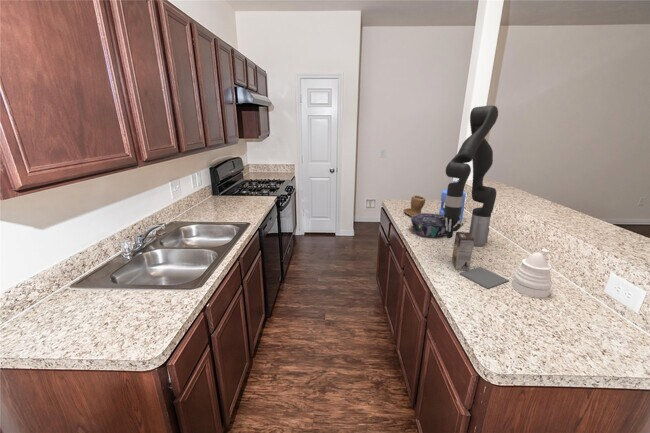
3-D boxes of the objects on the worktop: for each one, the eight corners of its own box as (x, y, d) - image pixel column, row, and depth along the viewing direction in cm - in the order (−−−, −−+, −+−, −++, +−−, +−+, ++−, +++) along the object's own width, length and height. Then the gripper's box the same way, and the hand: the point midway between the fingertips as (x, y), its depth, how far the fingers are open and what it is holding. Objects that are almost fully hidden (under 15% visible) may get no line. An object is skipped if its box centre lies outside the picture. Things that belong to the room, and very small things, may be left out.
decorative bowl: (460, 235, 180) (462, 220, 177) (436, 243, 163) (439, 226, 160) (424, 224, 199) (426, 211, 196) (400, 230, 182) (402, 215, 180)
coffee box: (451, 261, 142) (455, 231, 137) (464, 262, 141) (469, 232, 136) (455, 269, 133) (460, 238, 128) (469, 271, 132) (475, 239, 127)
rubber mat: (480, 267, 135) (480, 266, 135) (509, 281, 123) (509, 280, 123) (459, 274, 130) (459, 272, 129) (487, 289, 117) (487, 288, 117)
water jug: (463, 219, 203) (469, 180, 195) (460, 225, 191) (466, 184, 182) (440, 215, 211) (445, 178, 203) (436, 221, 199) (440, 182, 190)
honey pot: (542, 283, 121) (552, 245, 116) (554, 300, 110) (566, 259, 104) (508, 278, 125) (516, 241, 120) (516, 294, 114) (525, 254, 108)
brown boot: (426, 217, 207) (428, 197, 203) (411, 218, 205) (413, 198, 201) (416, 211, 222) (418, 193, 217) (402, 212, 220) (404, 194, 215)
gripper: (470, 207, 131) (465, 241, 137) (448, 200, 143) (443, 232, 148) (459, 209, 128) (454, 244, 134) (437, 202, 140) (433, 234, 145)
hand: (448, 237), depth 141 cm, fingers closed
